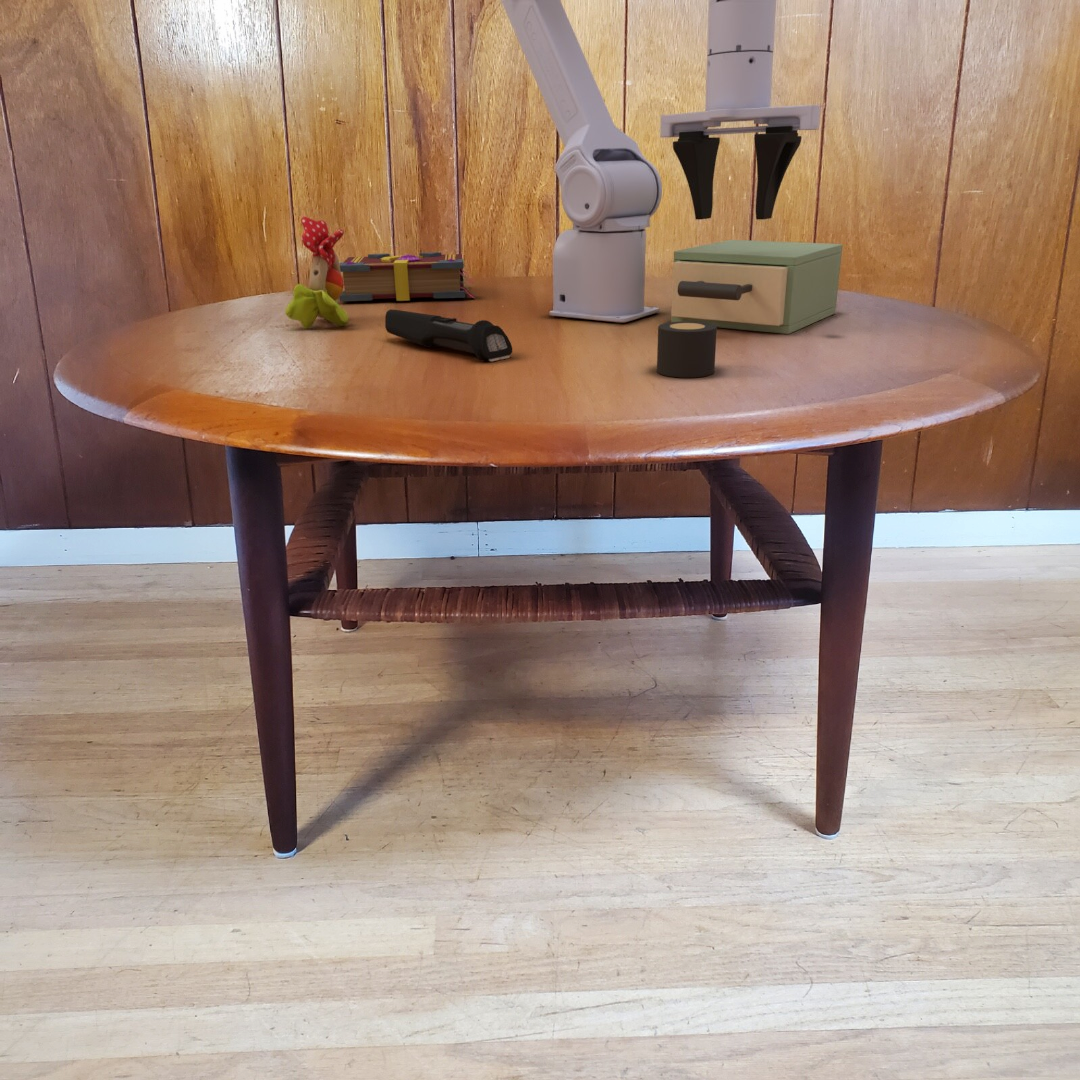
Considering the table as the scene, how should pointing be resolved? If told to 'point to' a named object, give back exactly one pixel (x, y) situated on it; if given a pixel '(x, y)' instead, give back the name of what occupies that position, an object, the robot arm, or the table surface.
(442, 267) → the decorative book
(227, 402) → the table surface
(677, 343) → the dark grey cylinder
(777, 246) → the cabinet
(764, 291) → the drawer
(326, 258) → the bird rattle
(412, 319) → the electric trimmer
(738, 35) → the robot arm
